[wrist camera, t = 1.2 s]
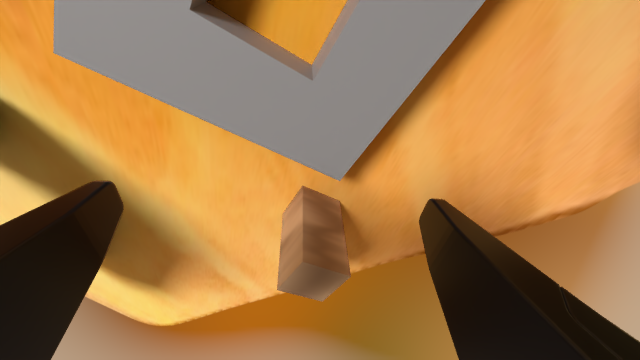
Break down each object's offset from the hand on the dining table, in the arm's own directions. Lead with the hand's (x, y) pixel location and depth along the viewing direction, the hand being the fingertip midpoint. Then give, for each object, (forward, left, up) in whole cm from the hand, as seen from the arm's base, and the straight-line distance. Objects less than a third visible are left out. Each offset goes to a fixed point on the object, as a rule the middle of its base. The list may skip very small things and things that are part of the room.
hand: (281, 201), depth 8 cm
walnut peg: (-8, +11, -13) cm, 19 cm away
